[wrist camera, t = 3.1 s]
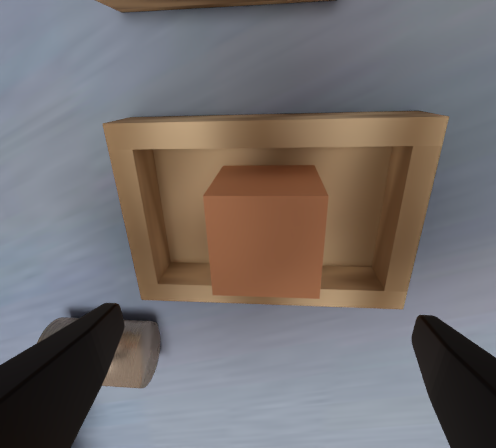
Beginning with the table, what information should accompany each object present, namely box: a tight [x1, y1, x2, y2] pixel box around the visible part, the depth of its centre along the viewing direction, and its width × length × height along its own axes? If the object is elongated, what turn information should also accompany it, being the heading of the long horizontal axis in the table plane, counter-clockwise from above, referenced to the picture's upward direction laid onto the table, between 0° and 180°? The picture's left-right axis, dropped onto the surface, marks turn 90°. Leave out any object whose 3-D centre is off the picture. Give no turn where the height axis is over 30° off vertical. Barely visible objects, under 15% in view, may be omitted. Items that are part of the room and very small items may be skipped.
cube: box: [203, 165, 329, 299], centre depth 15 cm, size 5×5×5 cm
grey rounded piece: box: [37, 317, 160, 388], centre depth 22 cm, size 7×4×4 cm
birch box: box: [103, 111, 449, 309], centre depth 17 cm, size 15×10×3 cm
